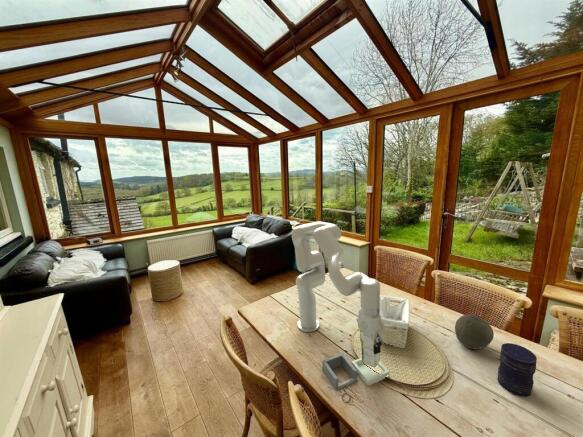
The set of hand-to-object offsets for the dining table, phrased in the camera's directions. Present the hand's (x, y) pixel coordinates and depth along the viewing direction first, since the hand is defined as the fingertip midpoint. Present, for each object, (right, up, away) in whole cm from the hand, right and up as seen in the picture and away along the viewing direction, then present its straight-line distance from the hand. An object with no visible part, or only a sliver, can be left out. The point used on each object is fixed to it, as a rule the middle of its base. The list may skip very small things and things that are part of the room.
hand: (370, 346), depth 99 cm
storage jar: (+53, -11, -8) cm, 55 cm away
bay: (-13, -13, +1) cm, 18 cm away
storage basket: (+20, -7, +26) cm, 33 cm away
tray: (+1, -12, +2) cm, 12 cm away
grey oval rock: (+53, -7, +13) cm, 55 cm away
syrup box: (+1, -7, +1) cm, 7 cm away
